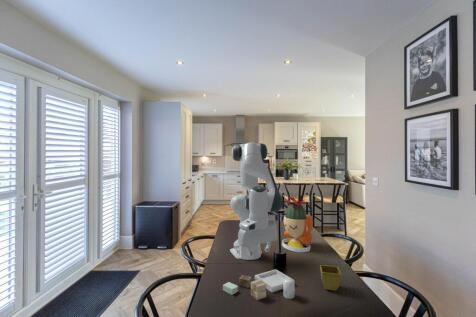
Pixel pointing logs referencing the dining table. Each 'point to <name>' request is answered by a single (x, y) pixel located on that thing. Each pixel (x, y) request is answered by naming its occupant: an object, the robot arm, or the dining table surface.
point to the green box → (230, 288)
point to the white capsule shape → (288, 288)
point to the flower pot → (330, 277)
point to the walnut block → (245, 281)
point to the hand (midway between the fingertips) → (258, 253)
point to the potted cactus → (297, 226)
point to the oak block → (258, 289)
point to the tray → (272, 279)
